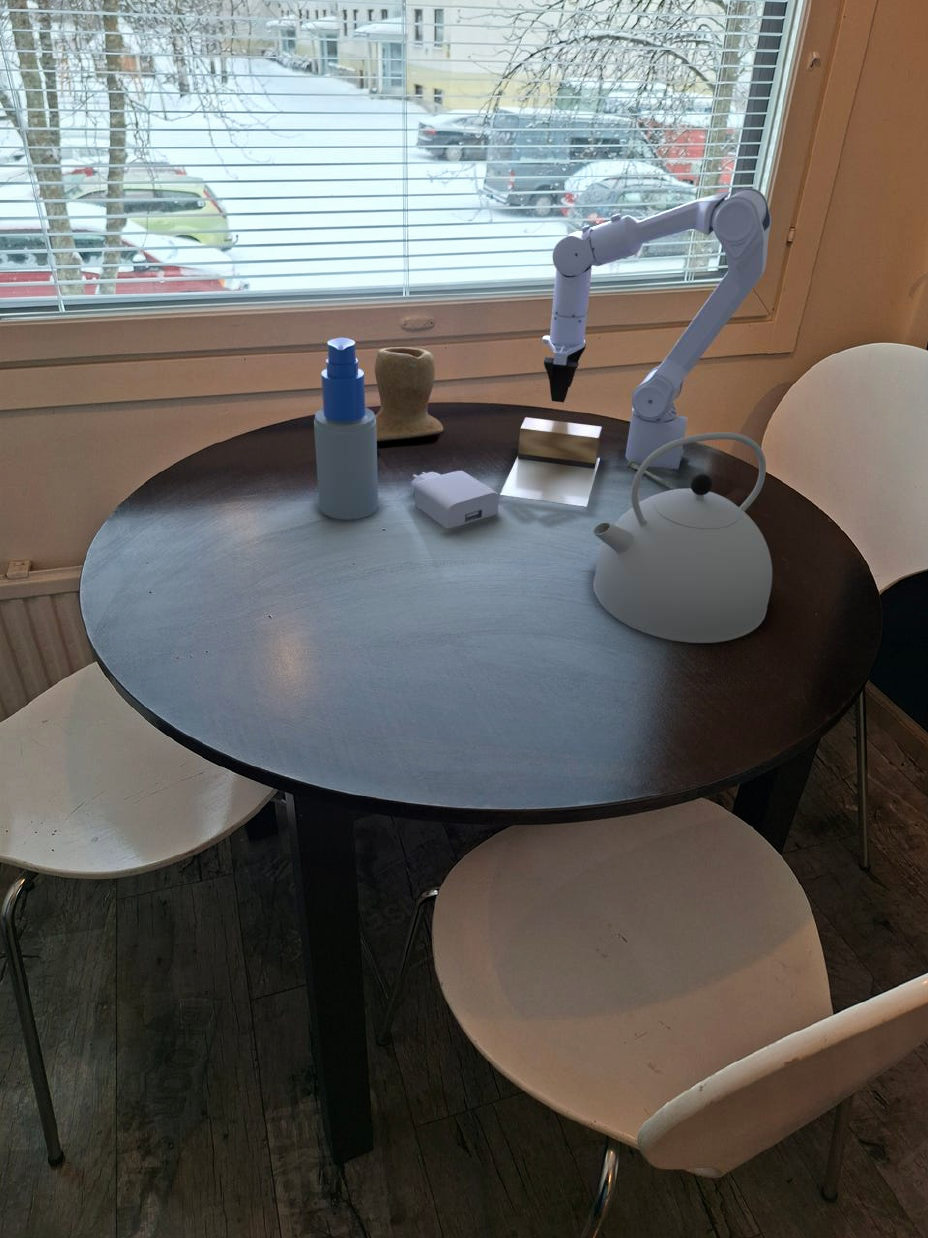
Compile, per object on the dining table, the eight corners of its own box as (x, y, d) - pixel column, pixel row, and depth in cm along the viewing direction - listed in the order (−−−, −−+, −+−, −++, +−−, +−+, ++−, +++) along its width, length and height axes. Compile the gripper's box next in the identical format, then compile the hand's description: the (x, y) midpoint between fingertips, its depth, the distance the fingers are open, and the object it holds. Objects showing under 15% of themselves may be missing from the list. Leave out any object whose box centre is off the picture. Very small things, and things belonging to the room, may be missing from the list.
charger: (442, 481, 141) (497, 519, 132) (393, 494, 137) (447, 535, 127) (442, 454, 139) (499, 490, 129) (393, 467, 134) (448, 505, 124)
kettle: (618, 656, 104) (648, 484, 91) (553, 560, 122) (570, 405, 109) (801, 630, 110) (852, 465, 97) (713, 542, 128) (747, 393, 115)
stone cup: (427, 416, 164) (428, 336, 155) (449, 441, 155) (451, 357, 146) (348, 425, 159) (345, 342, 150) (366, 451, 150) (364, 365, 141)
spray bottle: (327, 490, 137) (317, 329, 123) (383, 494, 137) (379, 333, 123) (313, 517, 130) (301, 349, 116) (372, 521, 129) (367, 354, 115)
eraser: (597, 457, 149) (601, 426, 146) (594, 469, 145) (598, 437, 142) (522, 447, 151) (525, 417, 148) (517, 458, 147) (520, 428, 144)
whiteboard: (603, 462, 150) (604, 457, 149) (590, 515, 134) (590, 509, 133) (517, 451, 152) (518, 445, 152) (494, 501, 136) (494, 495, 136)
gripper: (552, 298, 149) (545, 376, 156) (538, 322, 137) (531, 405, 145) (593, 302, 147) (584, 381, 155) (582, 326, 136) (573, 410, 144)
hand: (561, 393), depth 150 cm, fingers open, 7 cm apart
